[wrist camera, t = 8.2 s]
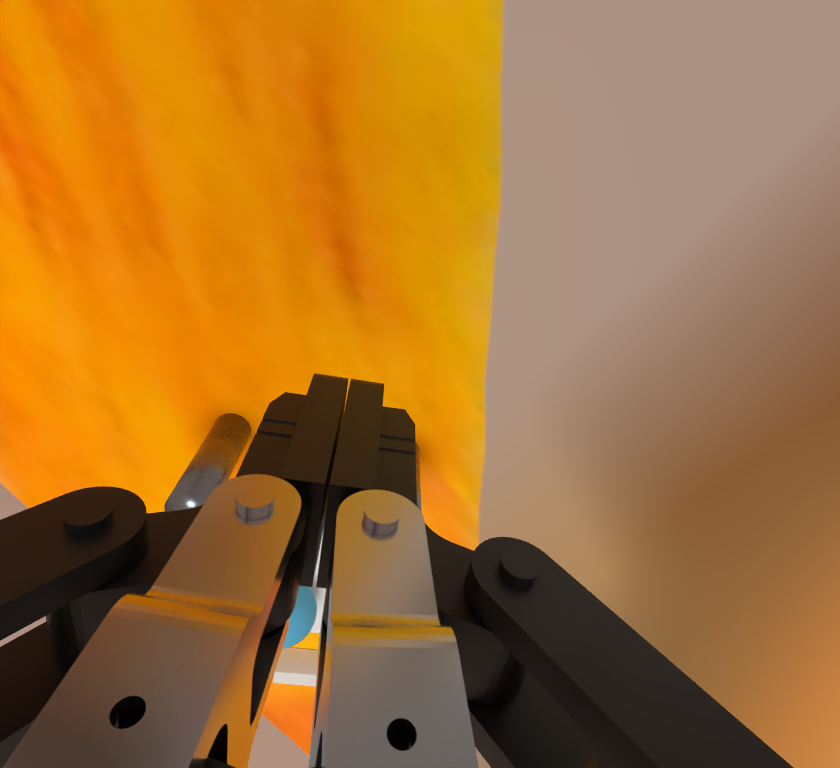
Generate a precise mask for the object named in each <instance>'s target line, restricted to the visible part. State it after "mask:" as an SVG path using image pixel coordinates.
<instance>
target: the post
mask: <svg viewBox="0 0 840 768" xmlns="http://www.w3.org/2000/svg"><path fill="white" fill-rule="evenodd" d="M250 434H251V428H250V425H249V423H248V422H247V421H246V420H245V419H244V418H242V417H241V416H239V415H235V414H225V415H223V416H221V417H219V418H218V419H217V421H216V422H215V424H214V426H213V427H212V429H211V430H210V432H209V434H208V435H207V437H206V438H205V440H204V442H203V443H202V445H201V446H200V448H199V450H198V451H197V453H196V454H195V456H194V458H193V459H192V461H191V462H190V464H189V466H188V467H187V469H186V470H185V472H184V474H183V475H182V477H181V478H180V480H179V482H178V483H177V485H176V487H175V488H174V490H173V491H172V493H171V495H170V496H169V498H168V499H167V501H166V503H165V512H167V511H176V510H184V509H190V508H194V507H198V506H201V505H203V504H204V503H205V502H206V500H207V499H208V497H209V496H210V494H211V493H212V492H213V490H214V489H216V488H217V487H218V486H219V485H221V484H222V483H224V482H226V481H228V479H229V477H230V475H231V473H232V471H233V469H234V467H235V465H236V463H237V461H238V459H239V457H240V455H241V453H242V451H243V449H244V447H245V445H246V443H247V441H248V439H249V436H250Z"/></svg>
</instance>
